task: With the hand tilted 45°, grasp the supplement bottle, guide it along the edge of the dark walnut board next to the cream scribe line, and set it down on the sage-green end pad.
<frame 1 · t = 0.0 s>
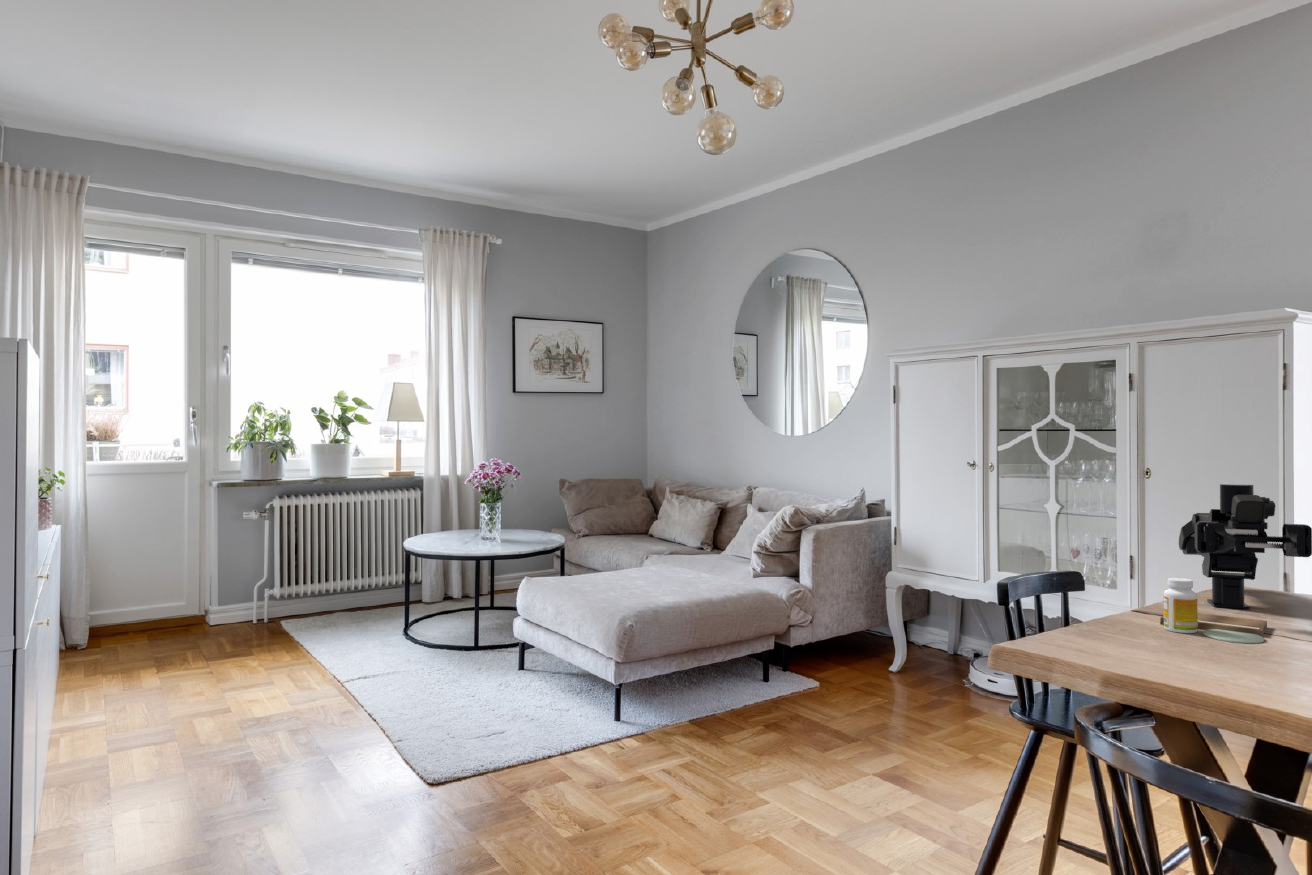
hand: (1265, 543, 151), 17 cm above the table, tool horizontal, fingers open, 9 cm apart
end pad: (1233, 637, 147), on the table
supplement bottle: (1180, 631, 152), on the table
walnut board: (1213, 625, 156), on the table
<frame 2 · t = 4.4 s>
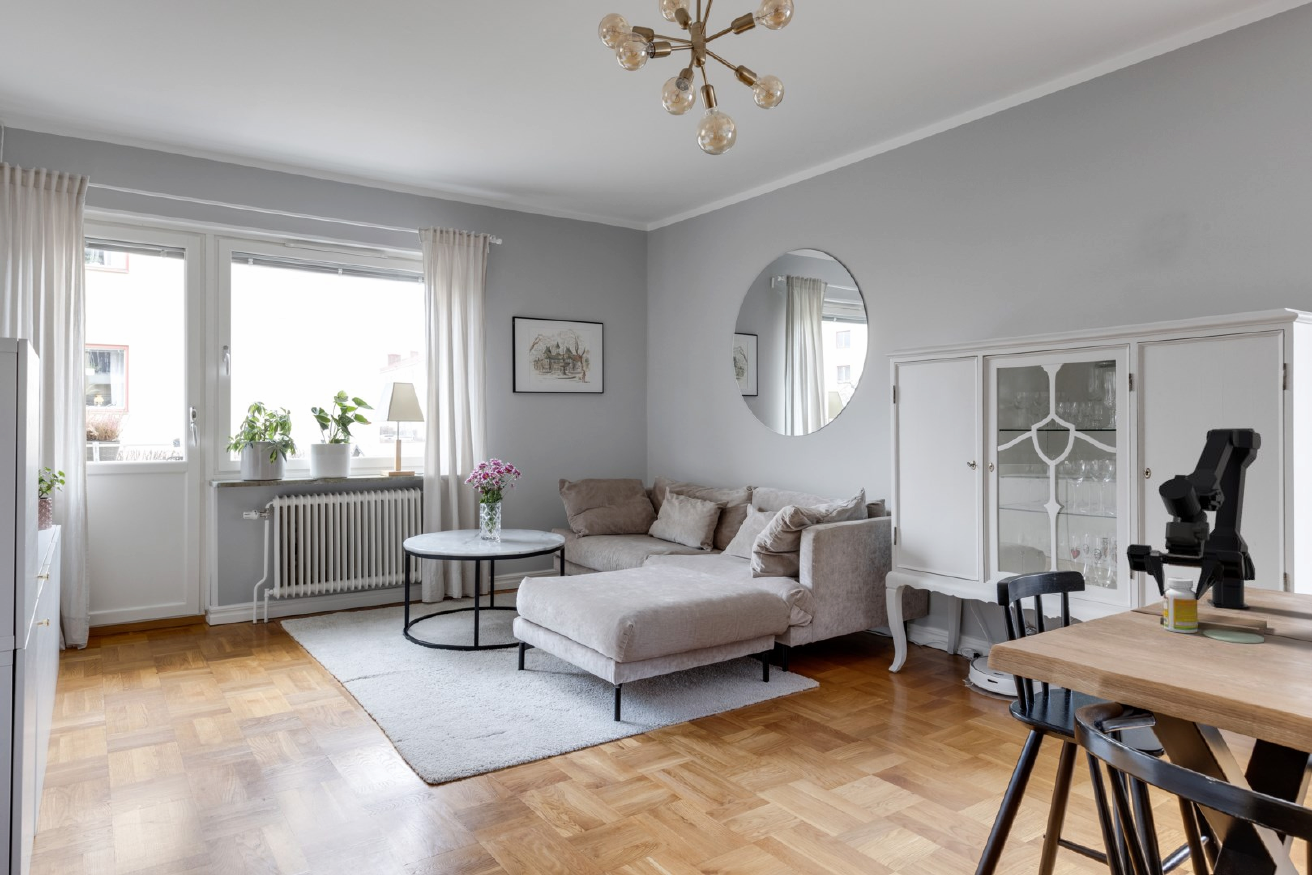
hand: (1179, 596, 151), 7 cm above the table, tool tilted 45°, fingers closed on supplement bottle, 5 cm apart
supplement bottle: (1180, 631, 152), on the table, touching gripper
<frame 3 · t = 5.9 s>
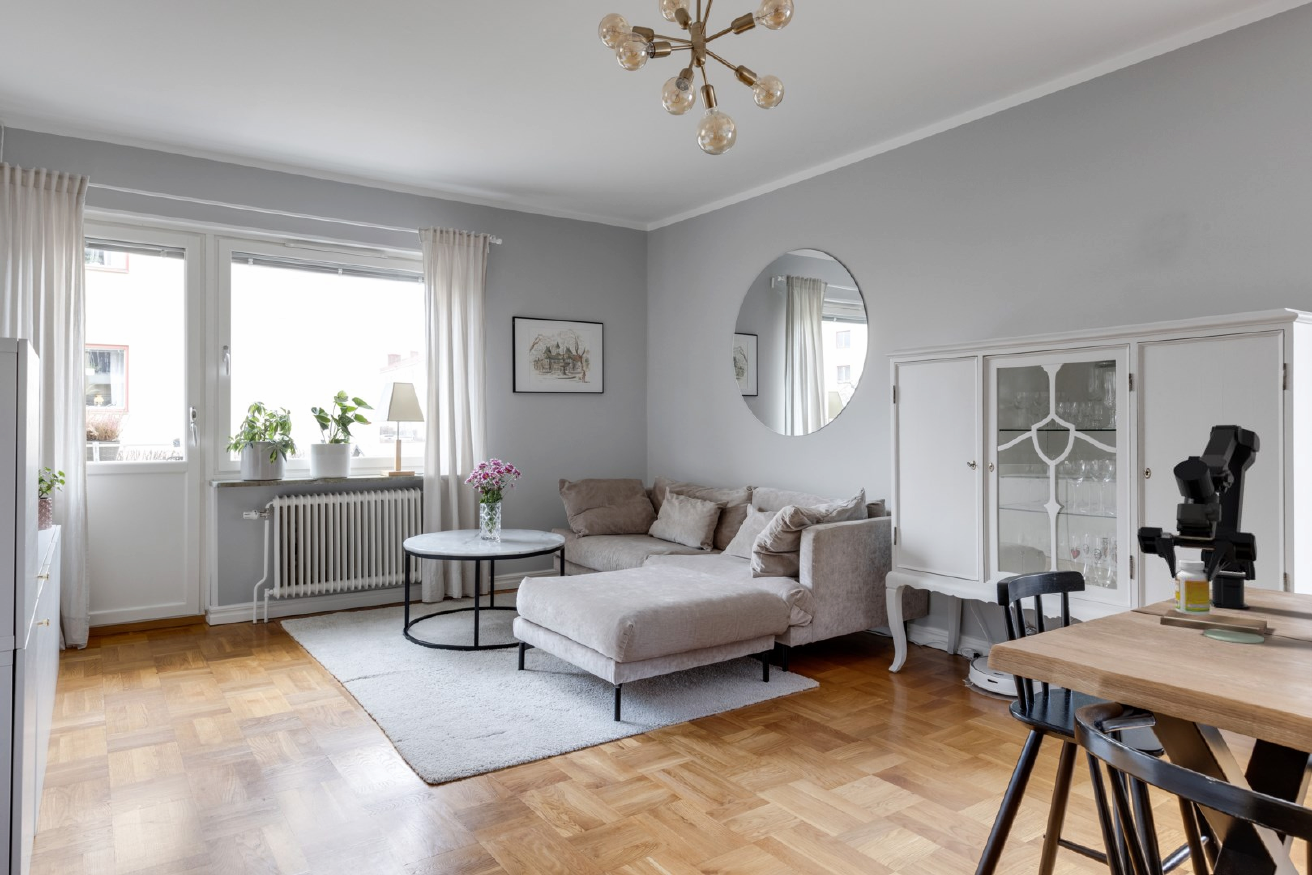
hand: (1190, 578, 150), 10 cm above the table, tool tilted 45°, fingers closed on supplement bottle, 5 cm apart
supplement bottle: (1192, 613, 151), point 3 cm above the table, touching gripper
when the fingers open (8 cm above the table, at t = 7.8 s): supplement bottle drops 1 cm, resting on end pad.
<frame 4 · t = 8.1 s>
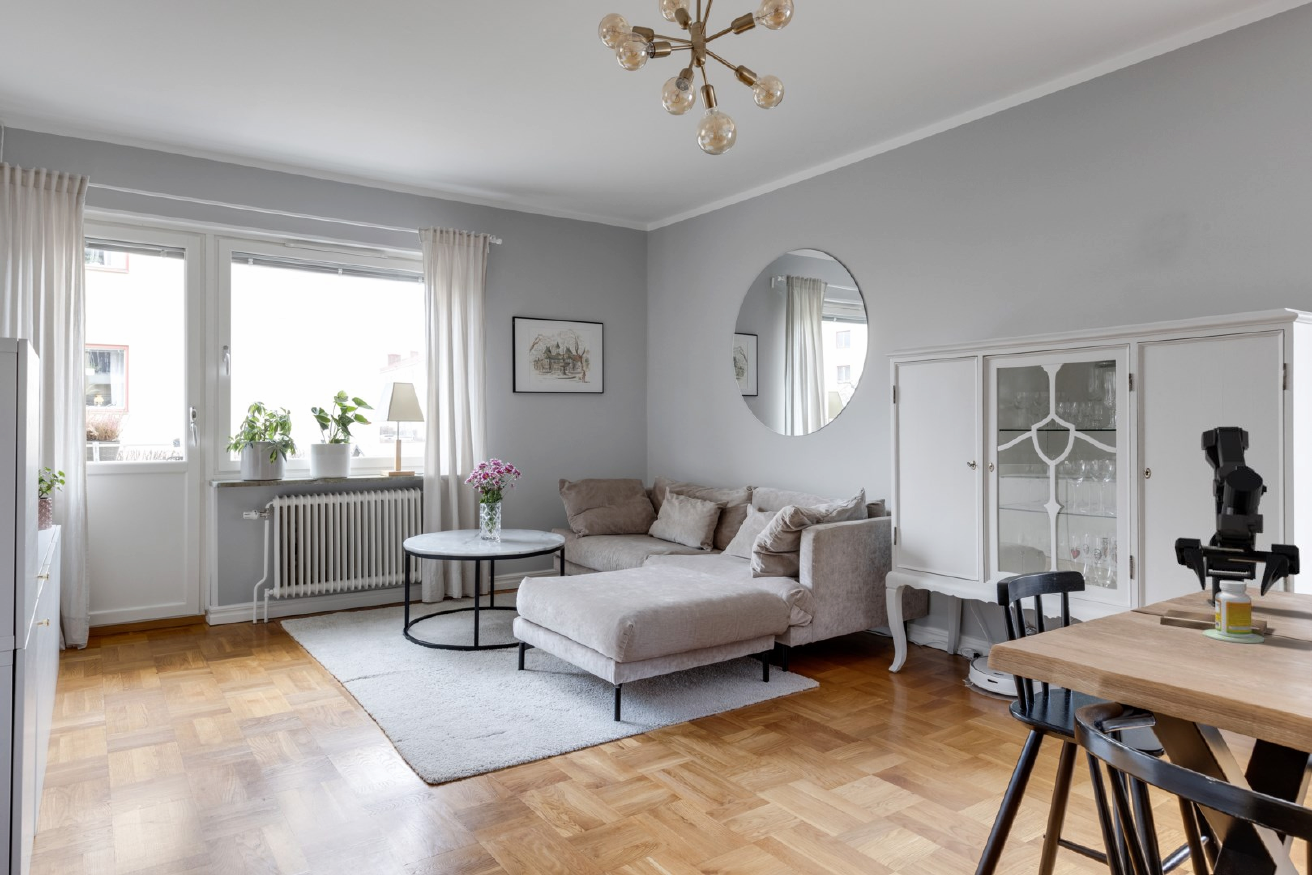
hand: (1232, 591, 146), 9 cm above the table, tool tilted 45°, fingers open, 8 cm apart
supplement bottle: (1233, 635, 147), resting on end pad
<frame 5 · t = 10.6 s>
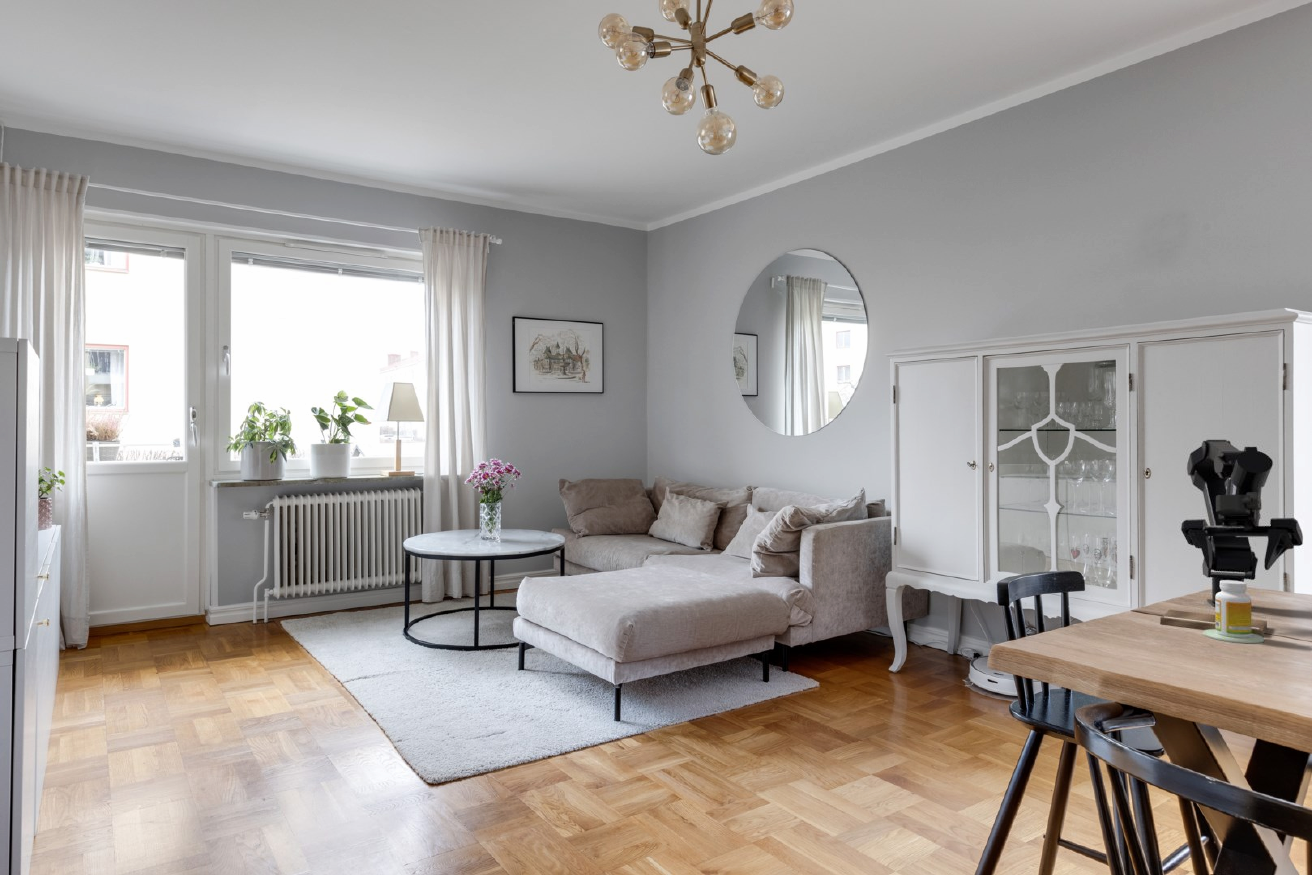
hand: (1236, 568, 153), 12 cm above the table, tool tilted 40°, fingers open, 9 cm apart
nothing on the table moved.
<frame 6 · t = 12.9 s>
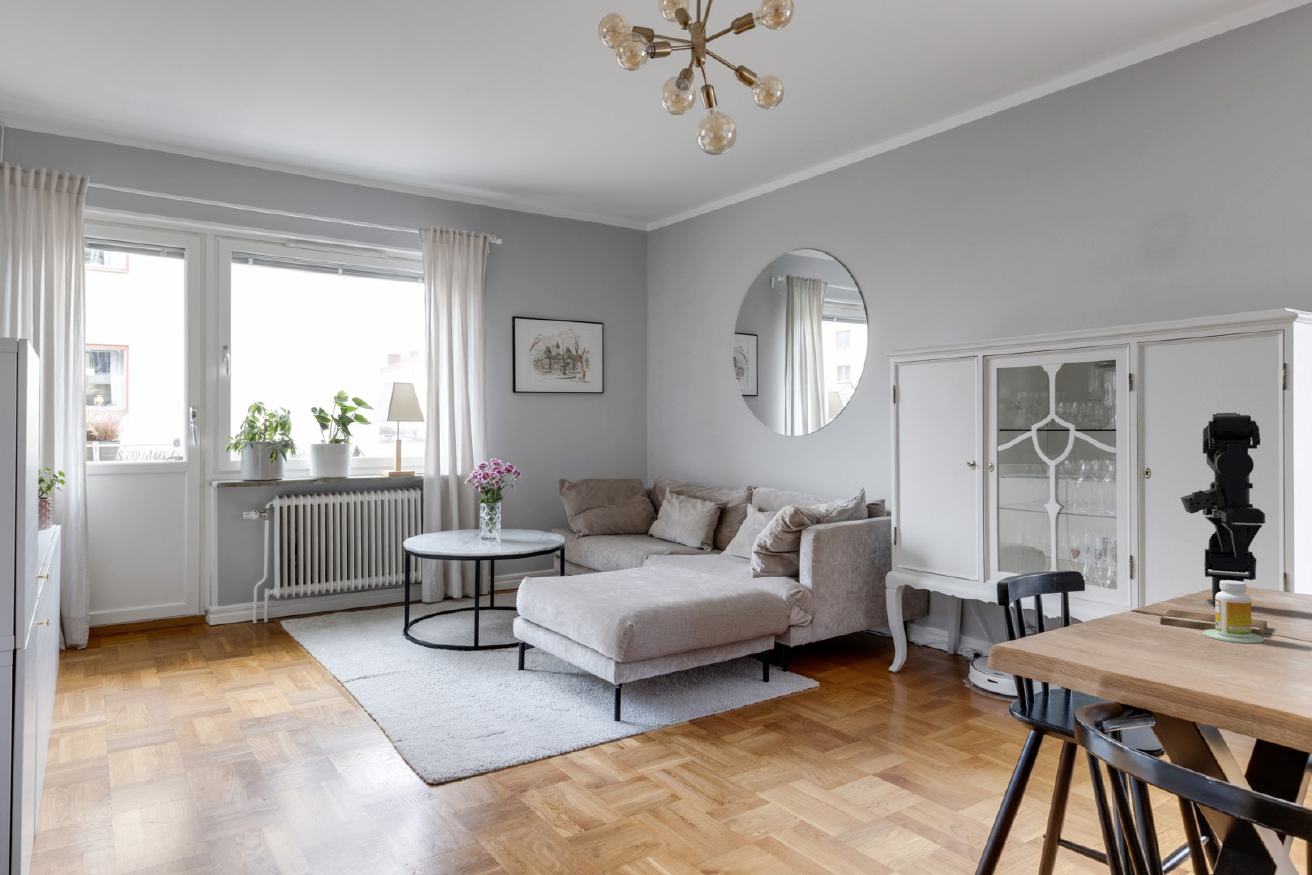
hand: (1232, 555, 160), 13 cm above the table, tool pointing down, fingers open, 9 cm apart
nothing on the table moved.
at the end: supplement bottle 0.2 cm from the target spot, resting on end pad; supplement bottle tilted 0°; the gripper is holding nothing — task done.
